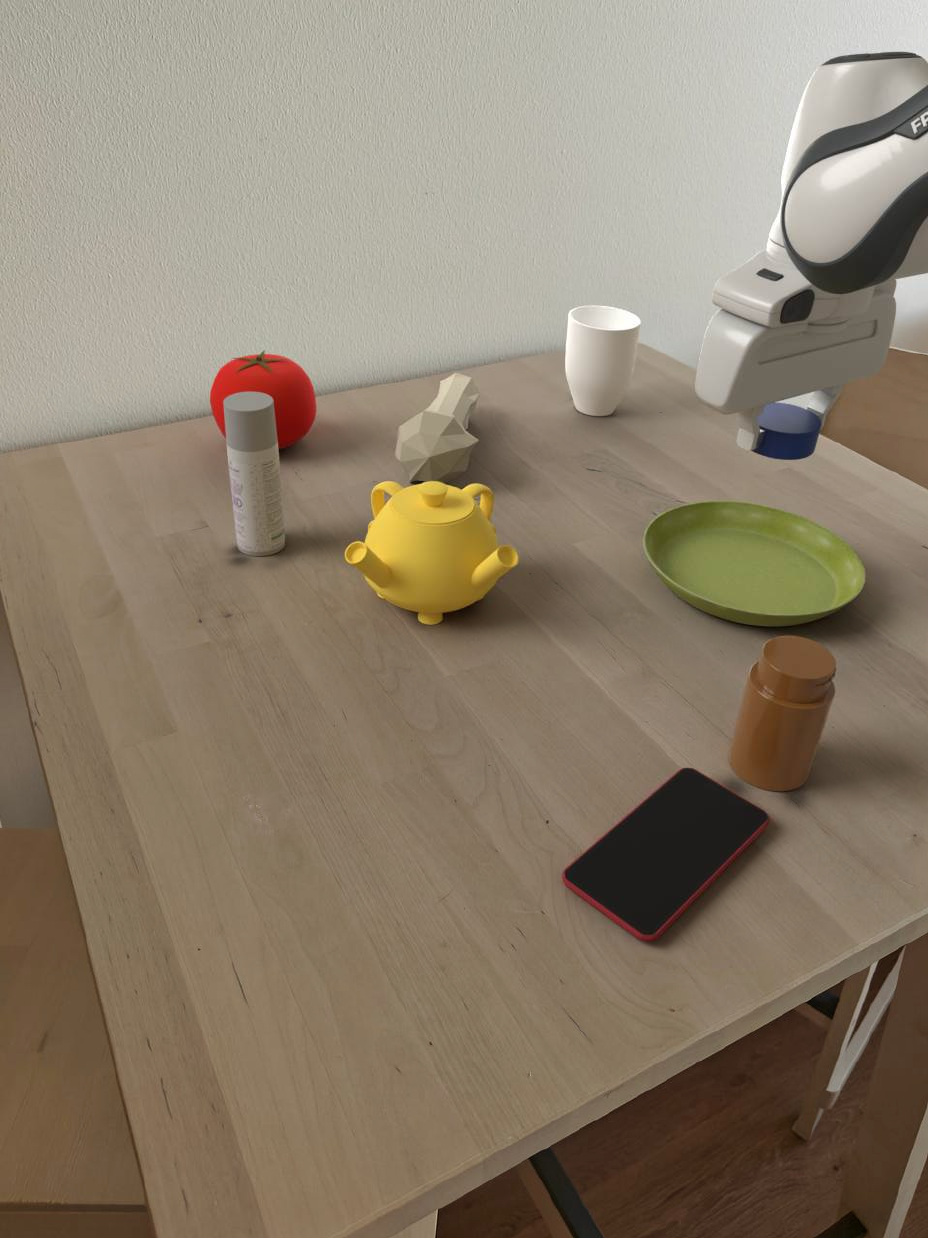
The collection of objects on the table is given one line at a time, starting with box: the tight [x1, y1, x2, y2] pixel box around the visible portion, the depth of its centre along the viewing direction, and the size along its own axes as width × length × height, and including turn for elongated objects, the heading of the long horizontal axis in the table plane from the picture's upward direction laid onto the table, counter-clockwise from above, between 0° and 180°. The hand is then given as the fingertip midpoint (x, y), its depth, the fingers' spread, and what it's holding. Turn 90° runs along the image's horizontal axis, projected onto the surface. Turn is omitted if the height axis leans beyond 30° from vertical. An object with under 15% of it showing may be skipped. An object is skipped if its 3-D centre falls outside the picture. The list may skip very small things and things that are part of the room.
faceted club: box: [394, 372, 481, 485], centre depth 117 cm, size 9×8×25 cm
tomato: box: [209, 349, 317, 450], centre depth 115 cm, size 12×12×10 cm
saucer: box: [642, 500, 866, 627], centre depth 97 cm, size 21×21×3 cm
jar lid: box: [750, 402, 822, 461], centre depth 89 cm, size 6×6×2 cm
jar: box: [727, 635, 837, 792], centre depth 73 cm, size 6×6×10 cm
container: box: [223, 392, 286, 557], centre depth 95 cm, size 5×5×15 cm
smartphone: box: [561, 767, 770, 943], centre depth 68 cm, size 7×1×15 cm
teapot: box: [344, 480, 520, 626], centre depth 90 cm, size 14×14×11 cm
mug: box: [564, 305, 641, 417], centre depth 128 cm, size 12×9×12 cm
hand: (779, 438), depth 89 cm, fingers closed on jar lid, 6 cm apart
